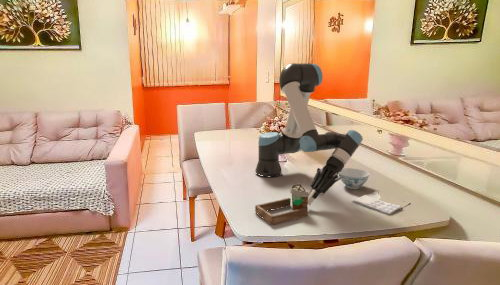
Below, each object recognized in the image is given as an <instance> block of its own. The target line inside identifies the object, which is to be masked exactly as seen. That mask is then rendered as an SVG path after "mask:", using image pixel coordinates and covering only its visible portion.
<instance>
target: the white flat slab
mask: <svg viewBox="0 0 500 285" xmlns="http://www.w3.org/2000/svg"><path fill="white" fill-rule="evenodd" d="M378 192H379V191H377V190H376V191H374V192H371V193H369V194H364V195H362V196H359V197H357V198H354V199H352V200H351V202H352V203H354V204H357V205H360V206H362V207H365V208H369V209H371V210H374V211H376V212H379V213H382V214H384V215H387V216H389V215H392V214H393V213H394V212H397V211H399V210H402V209H401V208H402V206H400V205H395V204H391V203H387V202H384V201H381V200H379V199H380V198H381V197H380V195H378ZM398 209H399V210H398ZM396 210H397V211H396Z"/></svg>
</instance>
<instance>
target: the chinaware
mask: <svg viewBox="0 0 500 285" xmlns="http://www.w3.org/2000/svg"><path fill="white" fill-rule="evenodd" d="M338 176H339V178H340V181H341V182H342V183H343V185H345V187H346V188H347V189H351V190H357V189H360V188H361V186H363V185H364V184H366V183H367V181H368V179H369V177H370V172H368V171H366V170H364V169H361V168H354V167H351V168H350V167H346V168H343V169H342V170H341V172H339V173H338Z"/></svg>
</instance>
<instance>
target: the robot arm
mask: <svg viewBox="0 0 500 285" xmlns="http://www.w3.org/2000/svg"><path fill="white" fill-rule="evenodd" d="M278 79H279V80H278V82H279V83H278V84H279V88H280V91H281V93H283V94H285V97H286V100H287V102H288V105H289V107H290V108H289V113H288V117H287V120H286V124H285V127H283V128H282V129H281V133H279V132H276V131H273V132H264V133H261V134H260V135H259V136H258V142H257V143H258V144H257V145H258V159H257V160H258V161H257V163H256V167H255V172H256V173H257V174H260V175H263V176H277V175H280V174H281V173H282V172H283V171H282V167H281V164H280V155H286V154H287V155H288V154H289V155H290V154H297V153H299V152H301V151H302V152H304V153H314V152H319V151H327V150H328V151H329V150H334V151H332V152H331V156H329V157H328V159H327V160H326V163H325V165H324V166H323V167H322V168H320V167H318V168H316V169H317V170H316V173H315V174H314V177H313V179H312V181H311V184H310V187H311V190H310V192H308V194H309V197H308V205H309V206H311V205H312V203H314V201H315V200H316V199H317V198H318V196H319V195H321V194H325V193H326V192H328V190H330V189H331V187H333V185H334V184H336V183H337V182H338V181H341V179H340V177H339V172H341V170H342V169H345V168H344V167H345V166H346V165H347V163H349V161H350V159H351V158H352V156H353V155H354V153H355V152H356V150H358V148H359V147H360V145H361V144H362V141H363V139H364V138H363V136H362V135H361V133H359V132H358V131H356V130H354V129H349V130H348V131H347V132H346V133H338V132H335V131H327V132H325V133H322V134H321V133H319V132H318V130H317V127H316V125H315V123H314V120H313V118H312V116H311V113H310V111H309V108H308V105H309V100H310V96H311V94H314V92H315V90H316V87H319V86H320V85H321V84H322V82H323V79H324V77H323V72H322V69H321V67H320V66H319V64H317V63H311V62H309V63H308V62H307V63H296V62H295V63H289V64H287V65H285V66H284V67H283V69H282V70H281V72H280V74H279V78H278ZM255 172H254V173H255ZM282 174H283V173H282ZM282 174H281V175H282ZM281 175H280V176H281ZM277 177H278V176H277Z"/></svg>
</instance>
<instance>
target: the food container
mask: <svg viewBox="0 0 500 285" xmlns="http://www.w3.org/2000/svg"><path fill="white" fill-rule="evenodd" d="M289 192H290V193H291V206H292V207H291V208H292V211H293V210H297V209H301V208H305V207H307V208H308V197H309V191H306V190H305V188H304V187H303V186H302V182H297V183H294V184H292V185H291V186H290V189H289Z"/></svg>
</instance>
